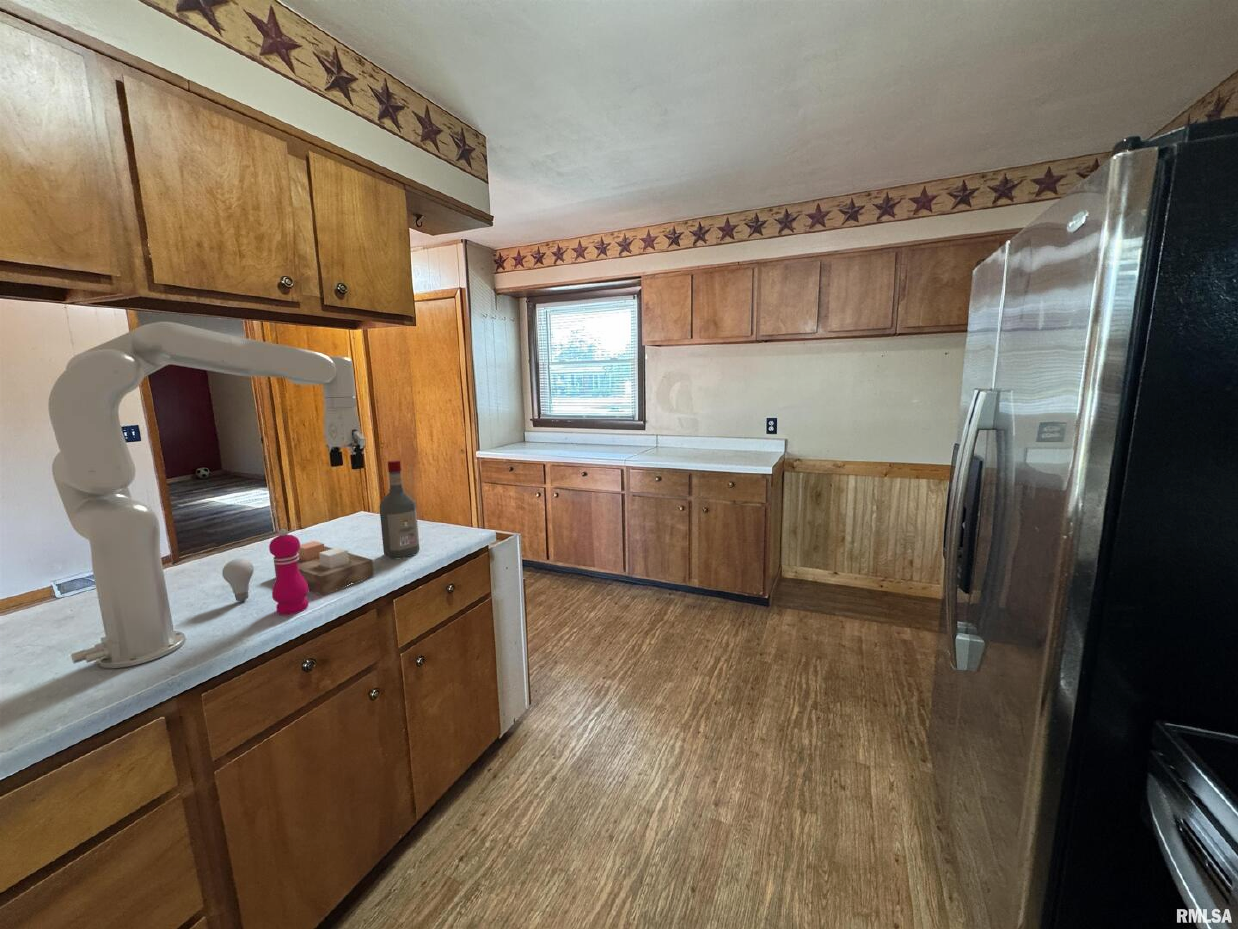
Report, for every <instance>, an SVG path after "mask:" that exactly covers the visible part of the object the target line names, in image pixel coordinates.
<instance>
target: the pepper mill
mask: <svg viewBox="0 0 1238 929" xmlns="http://www.w3.org/2000/svg"><path fill="white" fill-rule="evenodd" d="M288 533H289V532H288V530H287V529H285V528H281V529H279V531H278V535H277V536H276V537H274V538H273V539H272V540H271V541H270V543H269V546H268V550H269V553H270V554H271V555H273V556H274V557H273V558H272V559H273V564H276V566H277V578H276V577H275V580H274V581H275V582H274V583H273V584H274V585H273V586H272V590H271V591H272V592H271V593H272V594H271V597H272V600H273V601H274V602H276V603H277V604H276V606H275V607H276V612H277V614H278V615H281V616H286V615H287V616H288V615H293V614H298V613H300V612H302V611H305V610H306V609H307V608H308V607H309V602H308V598H307V595H308V594H309V591H310V590H309V588H308V584H307V582H306V580H305V579H304V578H303V576H302V575H301V573H300V571H299V568H298V560H299V554H298V553H297V551H298V550H299V548H300V545H301V542H300V540H299V538H298V537H297V536H295V535H293V534H288ZM304 609H305V610H304Z"/></svg>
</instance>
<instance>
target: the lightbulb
mask: <svg viewBox="0 0 1238 929" xmlns="http://www.w3.org/2000/svg"><path fill="white" fill-rule="evenodd" d="M221 572H222V573H221V574H222V577H223V579H224V580H225V582H227V583H228V585H229V586H230V587H231V589H232V593H233V594H234V597H235V598H234V599H235V600H236V601H237V602H241V603H243V602H245V601H246V600H247V599H248V598H249V590H250V581H251V579H252V577H253V574H254V565H253V564H252V562H251V561H250V560H248V559H245V558H234V559H232V560H230V561H229V562H227V563H225V565H224V567H223V569H222V571H221Z"/></svg>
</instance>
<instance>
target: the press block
mask: <svg viewBox="0 0 1238 929" xmlns="http://www.w3.org/2000/svg"><path fill="white" fill-rule="evenodd" d="M324 549H325V551H327V550H331V549H334V548H333V547H330V546H326V545H324ZM348 556H349V563H348V564H345V565H342V566H339V567H336V568H333V569H327V568H324V567H321V565H320V558H316V559H313V560H310V561H303V560H298V568H299V571H300V573H301V575H302V576H303V578H304V579H305V580H306V582H307V584H308V588H309V591H311V592H313V591H314V592H313V593H317V594H319V595H321V596H324V595H327V594H329V592H330V593H332V592H331V591H333V592H335V591H337V590H336V589H338V590H340V589H341V590H342V589H344V588H346V587H348V586H347V585H349V584H351V583H355V584H357V583H359V582H358V581H360V582H362V581H361V580H363V581H365V580H364V579H366V578H369V577H371V578H374V577H375V574H374V565H373V559H371V558H368V557H364V556H360V555H358V554H354V553H351V552H348ZM273 564H274V563H273ZM274 574H275V579H276V578H277V566H276V564H274ZM369 579H370V578H369ZM366 580H367V579H366ZM356 582H357V583H356ZM345 586H346V587H345ZM349 586H350V585H349ZM343 587H344V588H343ZM334 590H335V591H334Z"/></svg>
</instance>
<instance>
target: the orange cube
mask: <svg viewBox="0 0 1238 929" xmlns="http://www.w3.org/2000/svg"><path fill="white" fill-rule="evenodd" d="M324 546H325V543H323V542H320V541H315V540H313V541H311V542H305V543H302V544H301V543H300V548H299V550H298V551H297V553H298V554H299V560H303V561H310V560H313V559H316V558H320V556H319V553H320V552H324V551H325V549H324Z"/></svg>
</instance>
